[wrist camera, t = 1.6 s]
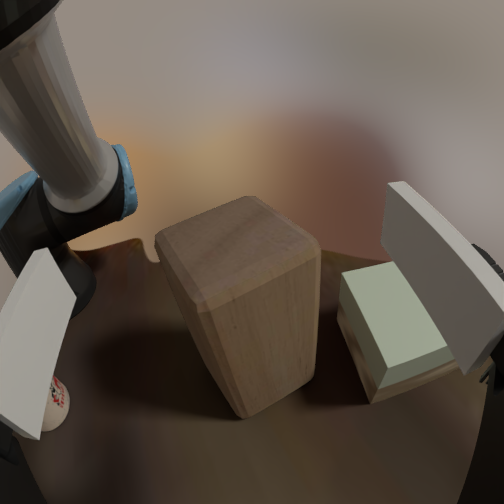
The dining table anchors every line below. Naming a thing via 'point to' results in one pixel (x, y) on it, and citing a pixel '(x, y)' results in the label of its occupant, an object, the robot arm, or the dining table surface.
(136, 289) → the dining table surface
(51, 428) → the teacup with lid
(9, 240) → the robot arm
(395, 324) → the tower top slab
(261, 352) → the block
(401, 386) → the tower base slab
